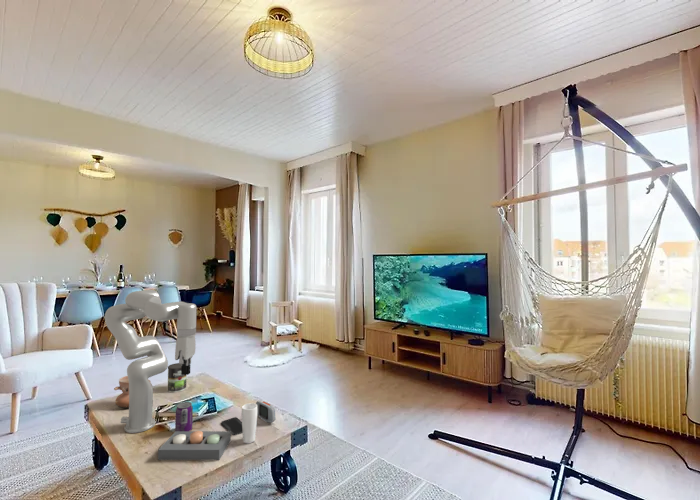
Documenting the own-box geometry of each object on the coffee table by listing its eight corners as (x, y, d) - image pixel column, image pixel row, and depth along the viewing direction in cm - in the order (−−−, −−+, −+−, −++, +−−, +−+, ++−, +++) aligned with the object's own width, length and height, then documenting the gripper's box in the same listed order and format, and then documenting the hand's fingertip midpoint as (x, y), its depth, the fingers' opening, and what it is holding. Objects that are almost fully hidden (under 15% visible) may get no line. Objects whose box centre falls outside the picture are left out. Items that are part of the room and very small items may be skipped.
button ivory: (170, 449, 140) (170, 440, 140) (176, 442, 144) (176, 434, 144) (182, 449, 140) (182, 440, 140) (187, 442, 144) (187, 434, 144)
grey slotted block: (158, 459, 135) (158, 449, 135) (175, 440, 149) (175, 431, 149) (219, 459, 135) (219, 449, 135) (230, 440, 149) (230, 431, 149)
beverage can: (195, 428, 159) (196, 402, 159) (184, 436, 152) (185, 409, 153) (183, 426, 161) (183, 400, 161) (171, 433, 154) (172, 407, 154)
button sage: (205, 449, 140) (205, 440, 140) (209, 442, 145) (209, 434, 145) (216, 449, 140) (217, 440, 140) (221, 442, 145) (221, 434, 145)
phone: (236, 416, 170) (249, 428, 158) (235, 419, 170) (249, 430, 158) (220, 421, 164) (233, 434, 153) (220, 424, 164) (233, 436, 153)
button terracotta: (187, 446, 140) (188, 437, 140) (193, 439, 144) (193, 430, 145) (199, 446, 140) (199, 437, 140) (204, 439, 145) (204, 430, 145)
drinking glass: (238, 440, 150) (238, 406, 150) (252, 434, 154) (252, 401, 155) (245, 446, 145) (246, 411, 145) (259, 440, 150) (260, 406, 150)
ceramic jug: (118, 414, 172) (119, 385, 172) (108, 405, 181) (109, 378, 181) (156, 402, 186) (157, 376, 187) (144, 395, 195) (146, 370, 196)
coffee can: (188, 389, 204) (189, 365, 204) (170, 394, 197) (170, 369, 197) (183, 384, 211) (183, 361, 212) (165, 388, 205) (165, 365, 205)
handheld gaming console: (254, 415, 172) (254, 400, 172) (259, 413, 175) (259, 398, 175) (271, 425, 163) (272, 408, 163) (276, 423, 165) (277, 406, 165)
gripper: (185, 328, 157) (185, 368, 157) (169, 336, 142) (168, 380, 142) (202, 328, 157) (201, 368, 157) (187, 336, 142) (186, 380, 142)
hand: (185, 373), depth 149 cm, fingers closed
